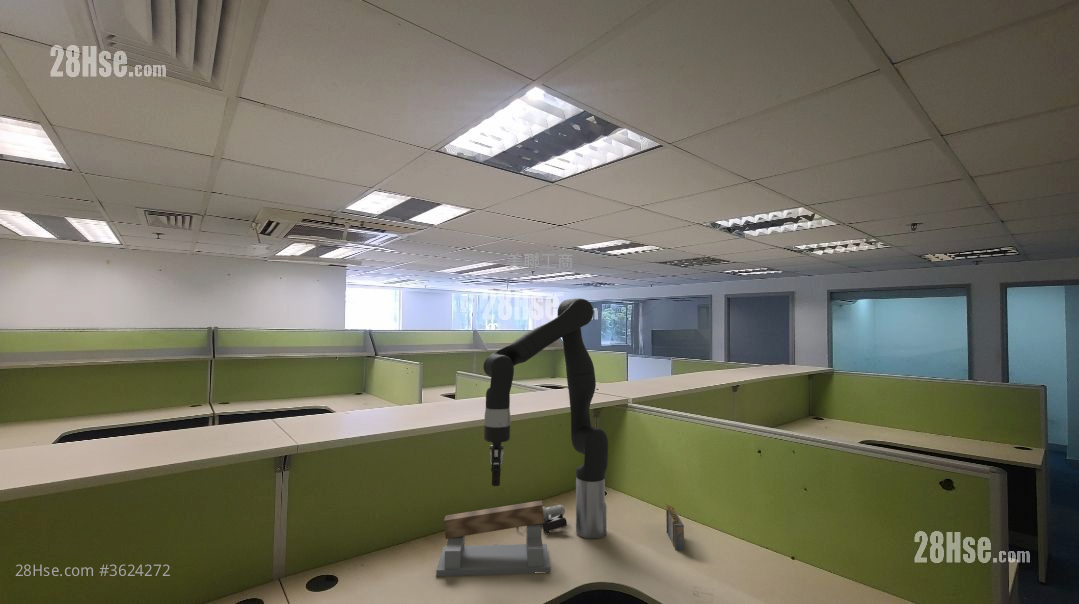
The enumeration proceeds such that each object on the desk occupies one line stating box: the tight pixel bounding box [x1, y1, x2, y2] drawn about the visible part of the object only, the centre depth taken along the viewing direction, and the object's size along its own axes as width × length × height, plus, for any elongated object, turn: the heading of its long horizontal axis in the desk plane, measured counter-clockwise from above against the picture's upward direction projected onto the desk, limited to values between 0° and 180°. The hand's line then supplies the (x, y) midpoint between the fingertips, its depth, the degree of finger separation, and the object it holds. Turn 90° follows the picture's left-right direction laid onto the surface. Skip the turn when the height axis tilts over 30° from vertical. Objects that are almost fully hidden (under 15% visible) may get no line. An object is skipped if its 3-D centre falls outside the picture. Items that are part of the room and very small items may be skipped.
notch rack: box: [435, 523, 552, 577], centre depth 122 cm, size 30×13×9 cm, turn 94°
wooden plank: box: [443, 500, 545, 540], centre depth 125 cm, size 28×4×5 cm, turn 94°
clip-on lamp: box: [541, 504, 568, 534], centre depth 145 cm, size 12×6×18 cm
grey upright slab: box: [665, 503, 685, 551], centre depth 135 cm, size 11×3×10 cm, turn 176°
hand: (496, 480), depth 126 cm, fingers open, 8 cm apart
